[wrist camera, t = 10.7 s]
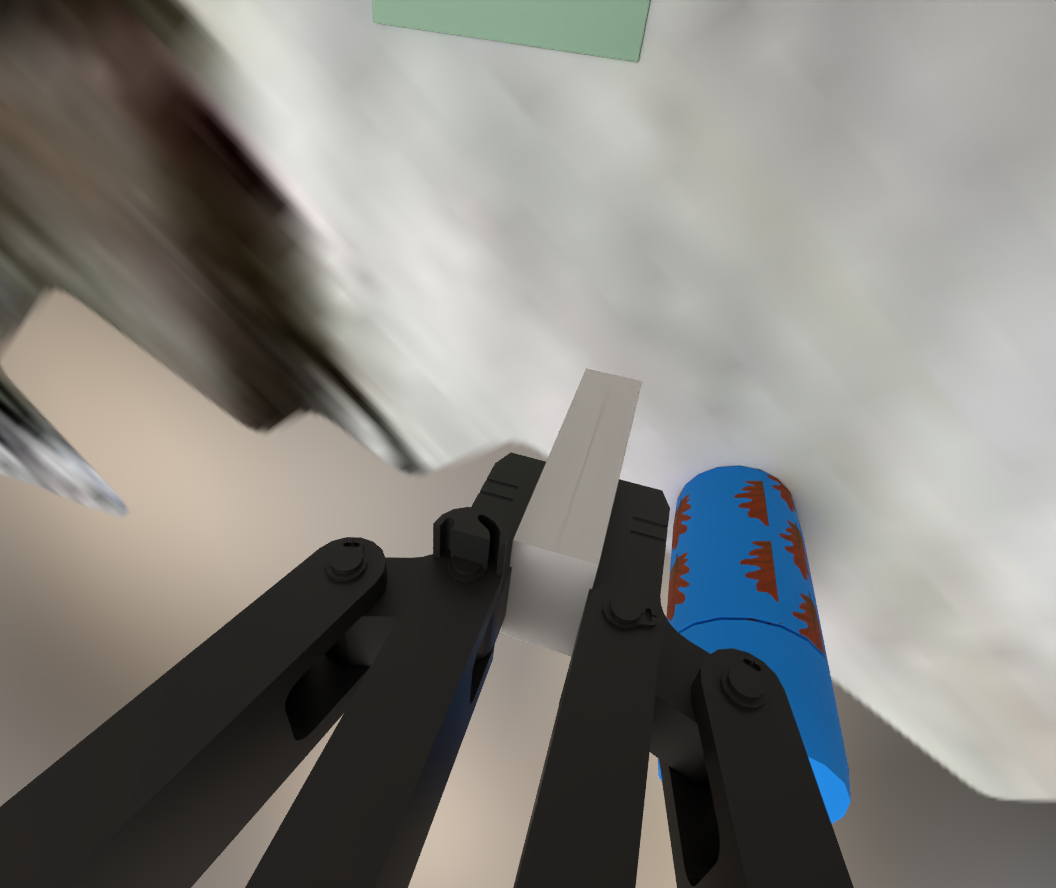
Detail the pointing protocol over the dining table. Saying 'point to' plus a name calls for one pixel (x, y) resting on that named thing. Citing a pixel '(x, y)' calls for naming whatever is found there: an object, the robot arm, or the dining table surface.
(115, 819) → the robot arm
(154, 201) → the dining table surface
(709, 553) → the thermos
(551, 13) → the pitch
